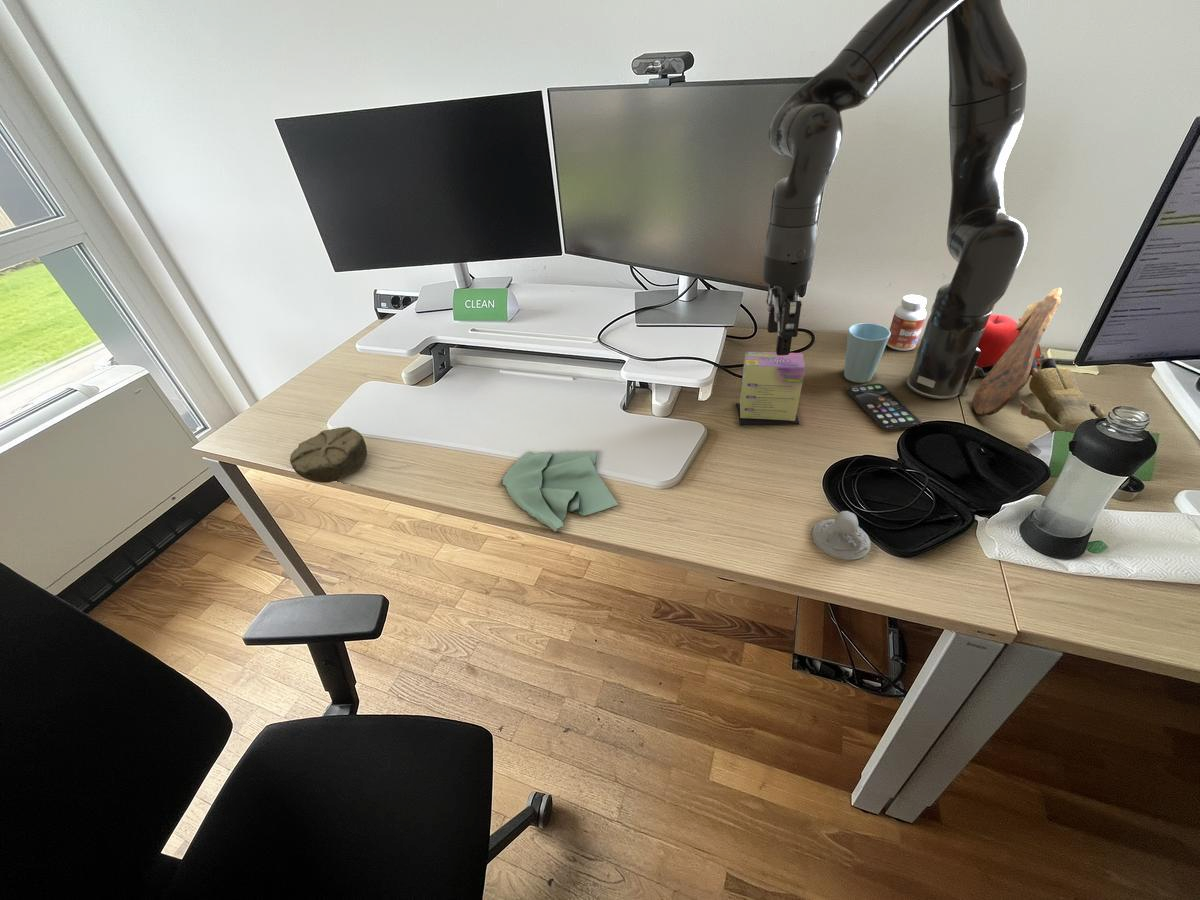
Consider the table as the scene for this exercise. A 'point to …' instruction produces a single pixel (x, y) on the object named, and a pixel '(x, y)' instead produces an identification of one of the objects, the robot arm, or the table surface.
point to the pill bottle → (907, 323)
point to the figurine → (1059, 399)
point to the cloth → (557, 486)
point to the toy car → (1037, 353)
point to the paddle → (1016, 358)
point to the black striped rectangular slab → (764, 420)
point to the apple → (996, 339)
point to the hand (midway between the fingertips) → (777, 342)
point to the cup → (864, 350)
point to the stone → (329, 455)
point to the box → (771, 385)
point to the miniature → (842, 537)
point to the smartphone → (883, 407)
